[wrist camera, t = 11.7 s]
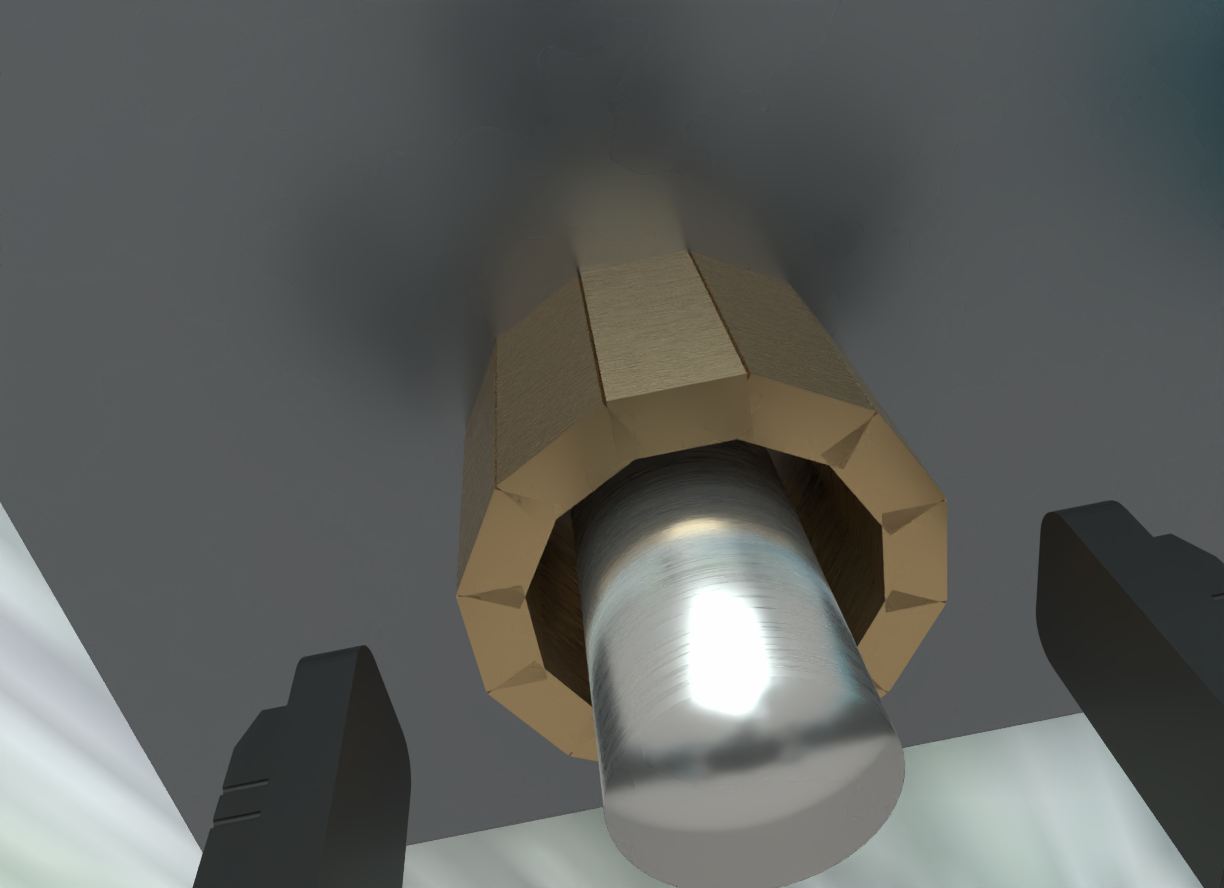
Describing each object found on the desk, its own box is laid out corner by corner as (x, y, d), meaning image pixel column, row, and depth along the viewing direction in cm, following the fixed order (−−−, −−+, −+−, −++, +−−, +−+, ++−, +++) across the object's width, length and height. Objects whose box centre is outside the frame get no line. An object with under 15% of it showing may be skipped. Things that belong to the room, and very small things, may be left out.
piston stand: (1280, -277, 14) (2303, -452, 6) (1155, 621, 22) (1519, 1042, 14) (-176, 10, 14) (-1048, 206, 6) (242, 801, 22) (101, 1321, 14)
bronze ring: (839, 220, 15) (946, 333, 11) (858, 553, 18) (947, 723, 14) (427, 301, 15) (406, 440, 11) (517, 620, 18) (522, 807, 14)
